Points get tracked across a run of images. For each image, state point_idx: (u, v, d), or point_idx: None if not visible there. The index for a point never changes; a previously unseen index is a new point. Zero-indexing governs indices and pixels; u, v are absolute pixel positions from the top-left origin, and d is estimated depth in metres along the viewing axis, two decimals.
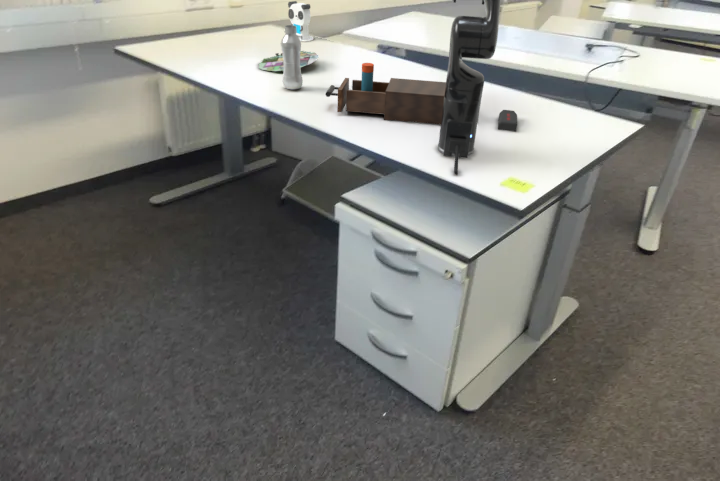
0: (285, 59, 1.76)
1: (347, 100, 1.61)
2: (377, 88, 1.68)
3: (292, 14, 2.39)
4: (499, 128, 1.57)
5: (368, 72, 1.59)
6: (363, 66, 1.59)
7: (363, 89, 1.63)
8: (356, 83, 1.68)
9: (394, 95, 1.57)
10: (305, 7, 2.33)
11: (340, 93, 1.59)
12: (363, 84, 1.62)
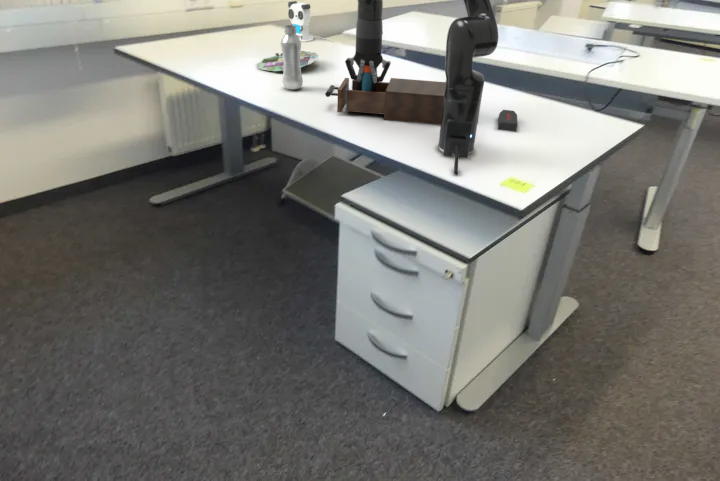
0: (285, 59, 1.76)
1: (347, 100, 1.61)
2: (377, 88, 1.68)
3: (292, 14, 2.39)
4: (499, 128, 1.57)
5: (368, 72, 1.59)
6: None
7: (363, 89, 1.63)
8: (356, 83, 1.68)
9: (394, 95, 1.57)
10: (305, 7, 2.33)
11: (340, 93, 1.59)
12: (363, 84, 1.62)
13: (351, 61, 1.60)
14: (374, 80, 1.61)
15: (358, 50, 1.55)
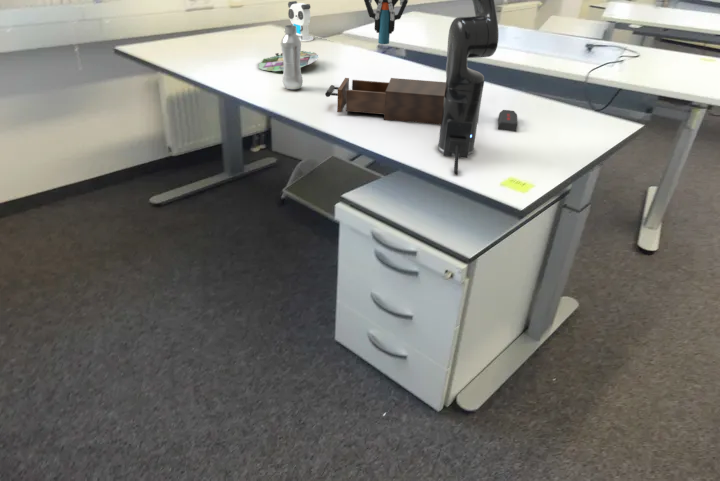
0: (285, 59, 1.76)
1: (347, 100, 1.61)
2: (377, 88, 1.68)
3: (292, 14, 2.39)
4: (499, 128, 1.57)
5: (386, 9, 1.63)
6: None
7: (381, 27, 1.67)
8: (356, 83, 1.68)
9: (394, 95, 1.57)
10: (305, 7, 2.33)
11: (340, 93, 1.59)
12: (381, 22, 1.66)
13: None
14: (392, 18, 1.65)
15: None
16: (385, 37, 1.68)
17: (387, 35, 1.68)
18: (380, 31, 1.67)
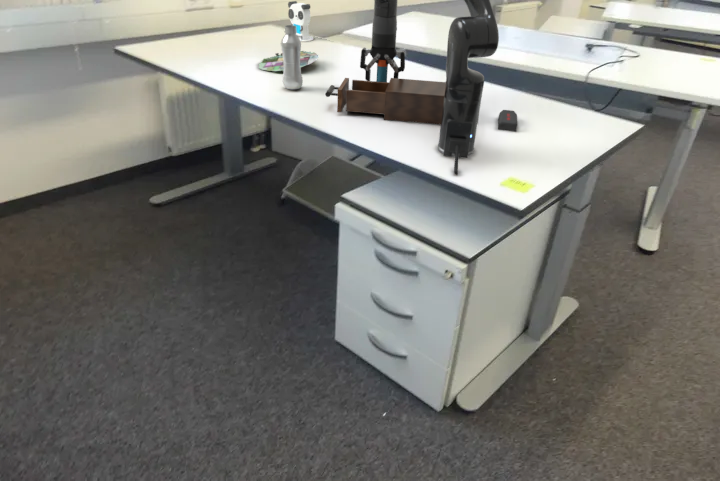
0: (285, 59, 1.76)
1: (347, 100, 1.61)
2: (377, 88, 1.68)
3: (292, 14, 2.39)
4: (499, 128, 1.57)
5: (383, 66, 1.73)
6: None
7: None
8: (356, 83, 1.68)
9: (394, 95, 1.57)
10: (305, 7, 2.33)
11: (340, 93, 1.59)
12: (378, 77, 1.75)
13: (366, 52, 1.72)
14: (396, 70, 1.73)
15: (374, 45, 1.68)
16: None
17: None
18: None
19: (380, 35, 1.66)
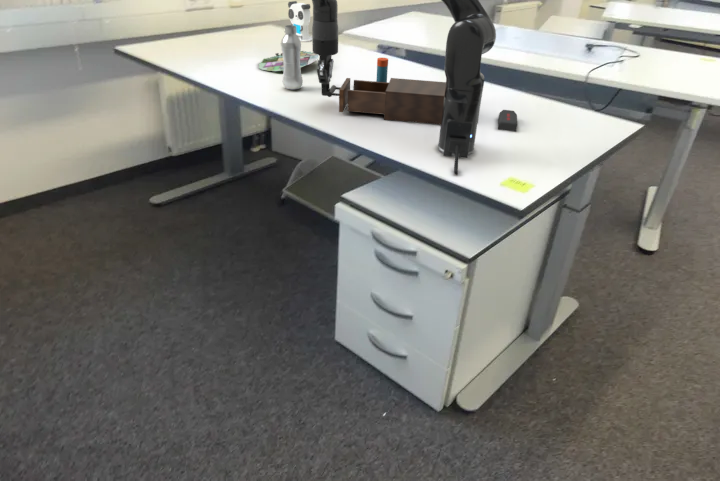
0: (285, 59, 1.76)
1: (348, 100, 1.61)
2: (379, 88, 1.68)
3: (292, 14, 2.39)
4: (499, 128, 1.57)
5: (383, 66, 1.73)
6: (378, 60, 1.72)
7: None
8: (357, 83, 1.68)
9: (394, 95, 1.57)
10: (305, 7, 2.33)
11: (341, 93, 1.59)
12: (378, 77, 1.75)
13: None
14: None
15: None
16: None
17: None
18: None
19: None
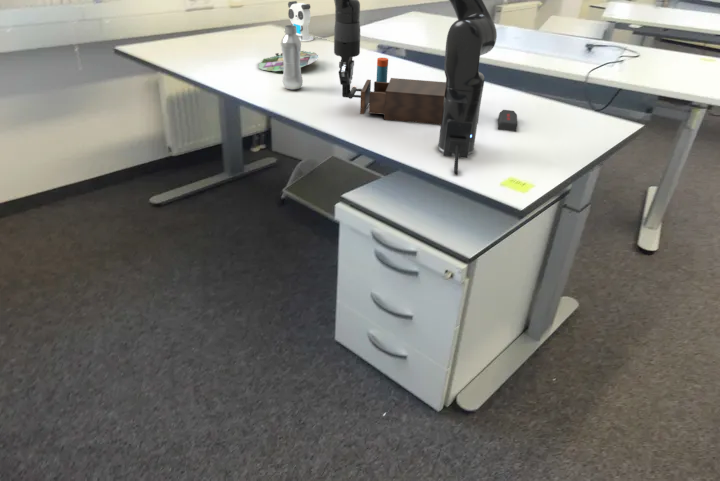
0: (285, 59, 1.76)
1: (370, 102, 1.60)
2: None
3: (292, 14, 2.39)
4: (499, 128, 1.57)
5: (383, 66, 1.73)
6: (378, 60, 1.72)
7: None
8: (378, 85, 1.67)
9: (394, 95, 1.57)
10: (305, 7, 2.33)
11: (363, 95, 1.59)
12: (378, 77, 1.75)
13: None
14: None
15: None
16: None
17: None
18: None
19: None
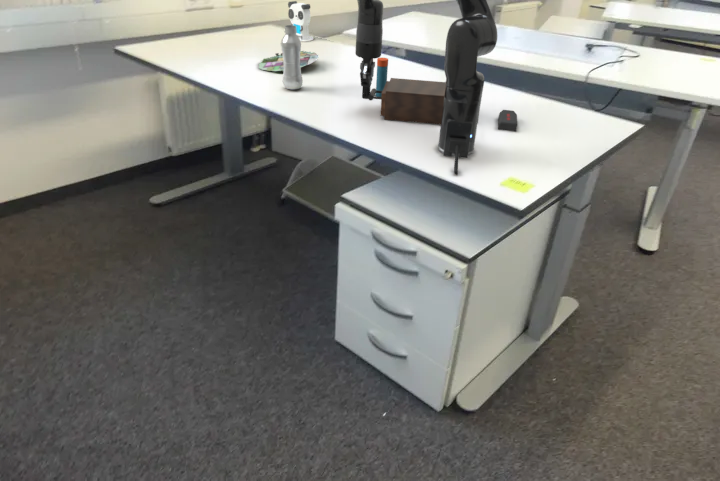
0: (285, 59, 1.76)
1: None
2: None
3: (292, 14, 2.39)
4: (499, 128, 1.57)
5: (383, 66, 1.73)
6: (378, 60, 1.72)
7: (378, 82, 1.76)
8: None
9: (394, 95, 1.57)
10: (305, 7, 2.33)
11: (384, 97, 1.58)
12: (378, 77, 1.75)
13: None
14: None
15: None
16: None
17: None
18: (377, 85, 1.77)
19: None
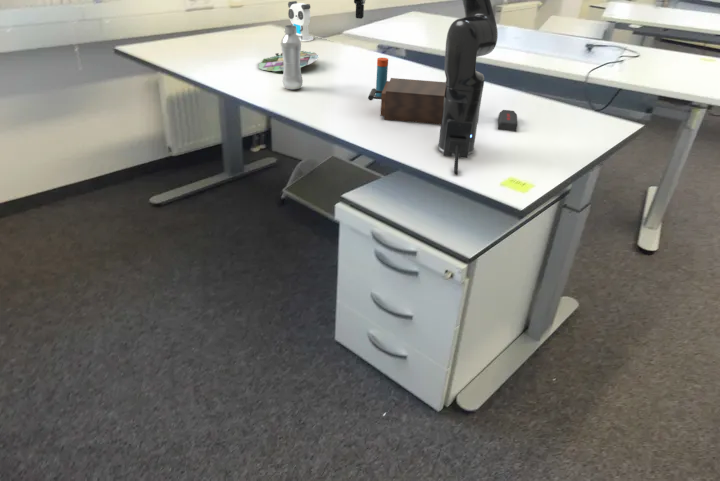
0: (285, 59, 1.76)
1: None
2: None
3: (292, 14, 2.39)
4: (499, 128, 1.57)
5: (383, 66, 1.73)
6: (378, 60, 1.72)
7: (378, 82, 1.76)
8: None
9: (394, 95, 1.57)
10: (305, 7, 2.33)
11: (384, 97, 1.58)
12: (378, 77, 1.75)
13: None
14: None
15: None
16: None
17: None
18: (377, 85, 1.77)
19: None
